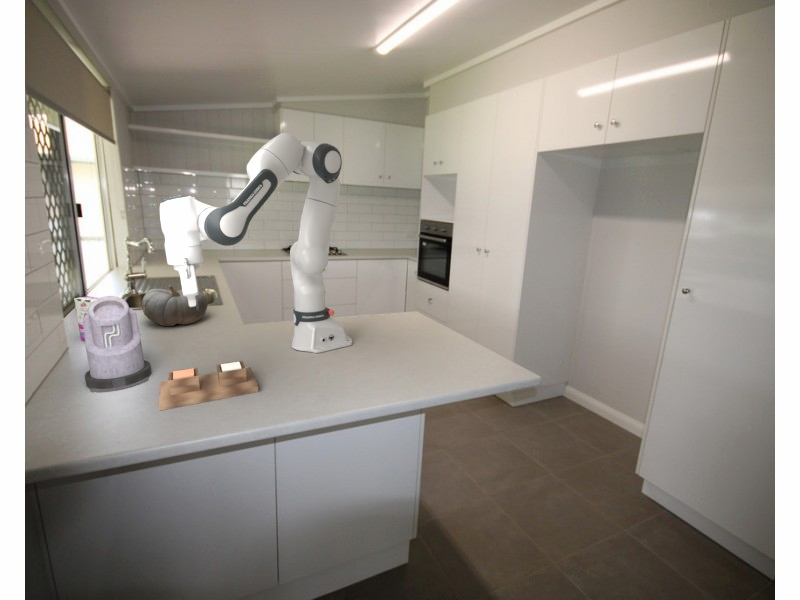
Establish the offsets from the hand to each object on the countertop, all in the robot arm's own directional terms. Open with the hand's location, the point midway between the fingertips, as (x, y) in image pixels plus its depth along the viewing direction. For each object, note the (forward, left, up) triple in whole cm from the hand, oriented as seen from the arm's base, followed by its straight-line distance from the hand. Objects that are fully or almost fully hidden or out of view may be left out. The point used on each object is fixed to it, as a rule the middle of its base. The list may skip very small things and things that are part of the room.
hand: (192, 305), depth 112 cm
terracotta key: (+4, +7, -20) cm, 22 cm away
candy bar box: (+33, -56, -24) cm, 69 cm away
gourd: (+6, -71, -24) cm, 75 cm away
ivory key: (-8, +7, -20) cm, 23 cm away
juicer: (+22, -19, -24) cm, 37 cm away
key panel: (-2, +7, -23) cm, 24 cm away
